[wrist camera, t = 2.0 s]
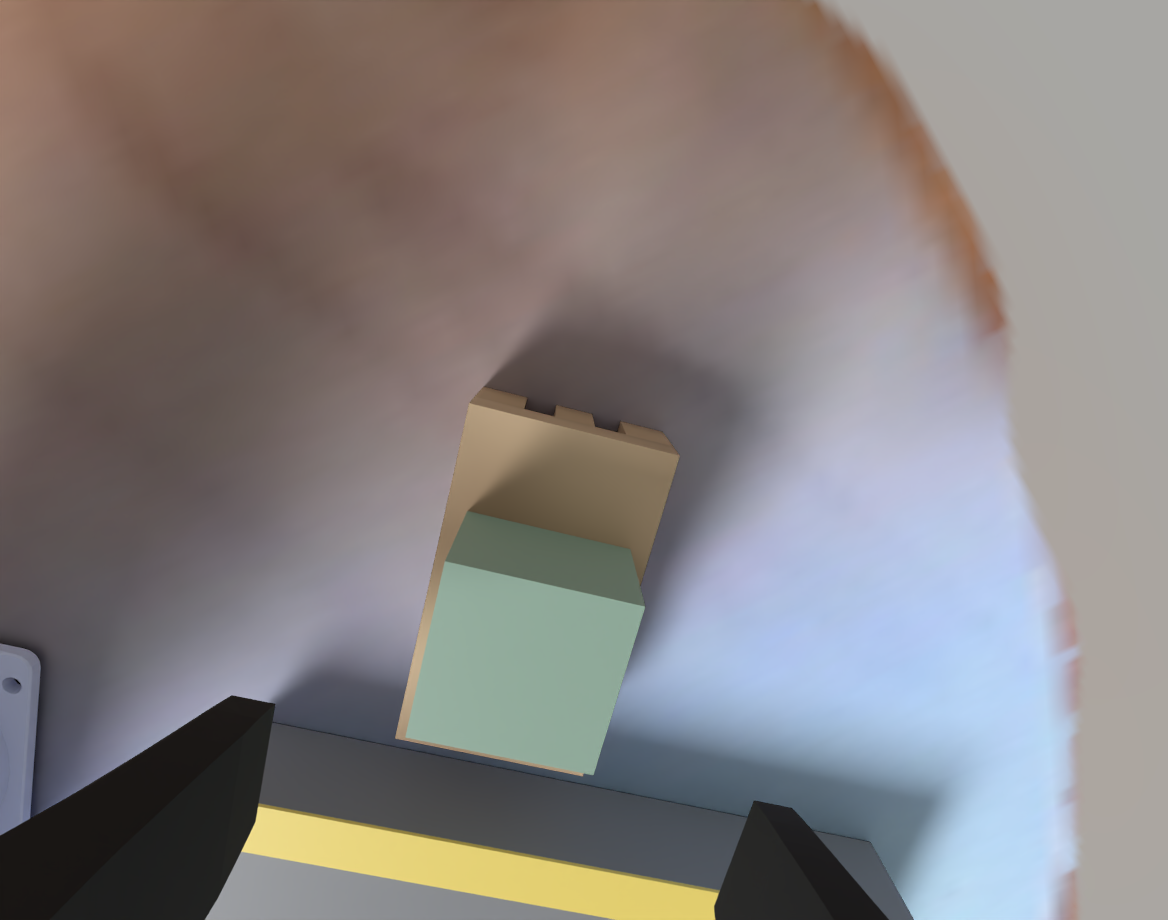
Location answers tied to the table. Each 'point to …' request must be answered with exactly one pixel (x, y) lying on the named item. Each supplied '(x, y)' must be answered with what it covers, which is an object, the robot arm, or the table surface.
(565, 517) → the pallet
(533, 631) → the green block
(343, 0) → the table surface
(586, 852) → the dock
